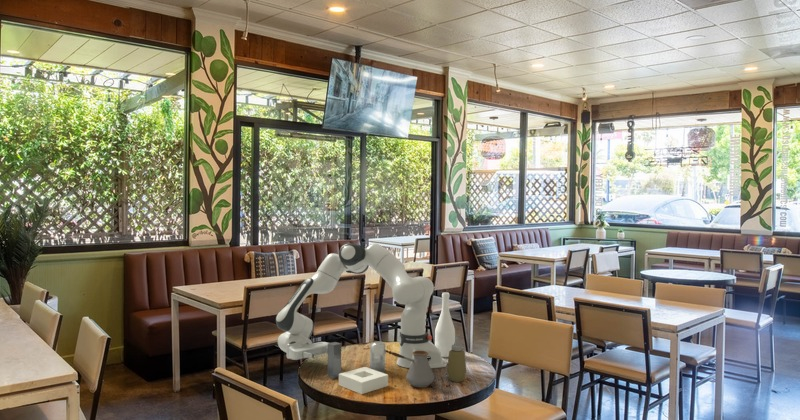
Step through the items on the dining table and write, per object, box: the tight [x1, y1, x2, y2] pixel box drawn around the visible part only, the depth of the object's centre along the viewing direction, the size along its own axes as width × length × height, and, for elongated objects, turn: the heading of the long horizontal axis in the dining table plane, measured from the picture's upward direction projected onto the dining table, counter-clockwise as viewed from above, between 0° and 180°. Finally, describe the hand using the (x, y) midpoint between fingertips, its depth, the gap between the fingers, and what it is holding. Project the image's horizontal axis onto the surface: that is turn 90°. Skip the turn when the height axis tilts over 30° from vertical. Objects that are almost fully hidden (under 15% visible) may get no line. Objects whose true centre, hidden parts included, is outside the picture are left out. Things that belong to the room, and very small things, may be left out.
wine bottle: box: [434, 291, 456, 358], centre depth 269 cm, size 10×10×30 cm
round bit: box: [369, 340, 386, 373], centre depth 244 cm, size 7×7×12 cm
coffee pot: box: [383, 349, 435, 388], centre depth 226 cm, size 21×12×15 cm, turn 108°
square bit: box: [326, 341, 342, 380], centre depth 235 cm, size 4×4×14 cm
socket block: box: [338, 366, 389, 395], centre depth 225 cm, size 14×14×4 cm
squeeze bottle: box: [446, 336, 467, 383], centre depth 233 cm, size 8×8×18 cm
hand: (321, 354), depth 240 cm, fingers open, 8 cm apart
